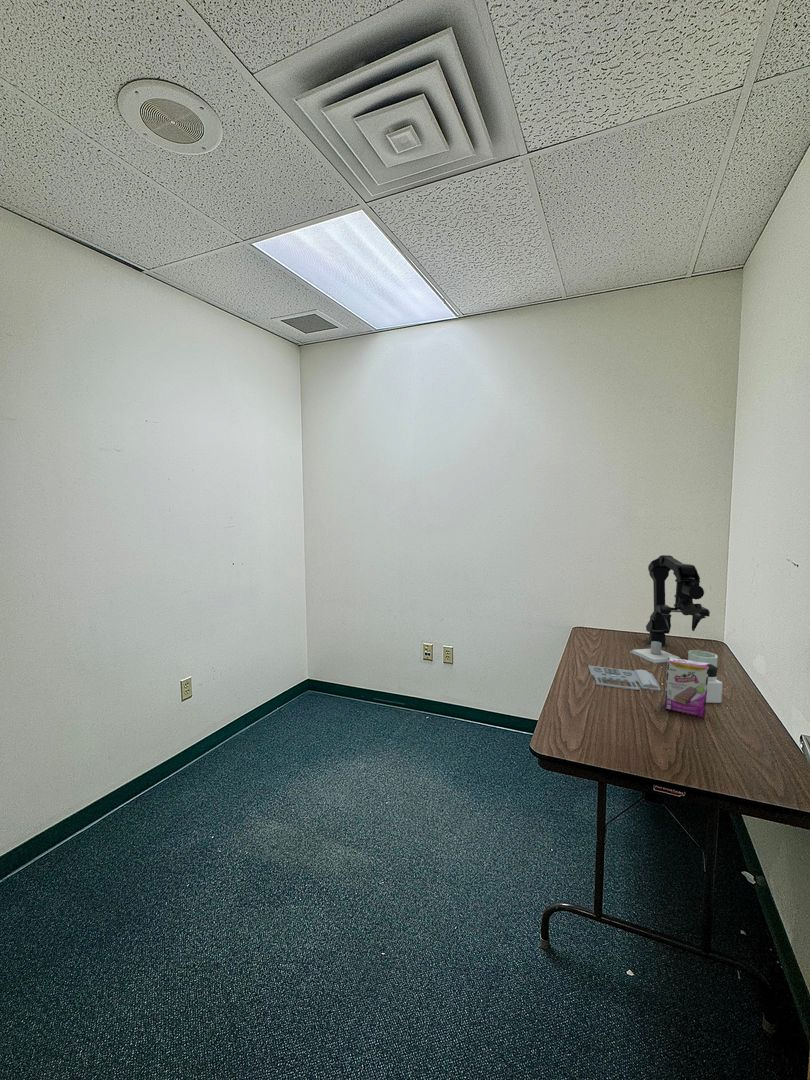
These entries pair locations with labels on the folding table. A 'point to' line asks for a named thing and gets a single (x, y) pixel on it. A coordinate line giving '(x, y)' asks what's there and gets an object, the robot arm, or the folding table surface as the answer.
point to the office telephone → (624, 678)
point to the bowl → (702, 657)
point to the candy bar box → (686, 686)
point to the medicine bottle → (713, 686)
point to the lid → (654, 653)
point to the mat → (648, 659)
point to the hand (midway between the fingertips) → (681, 630)
